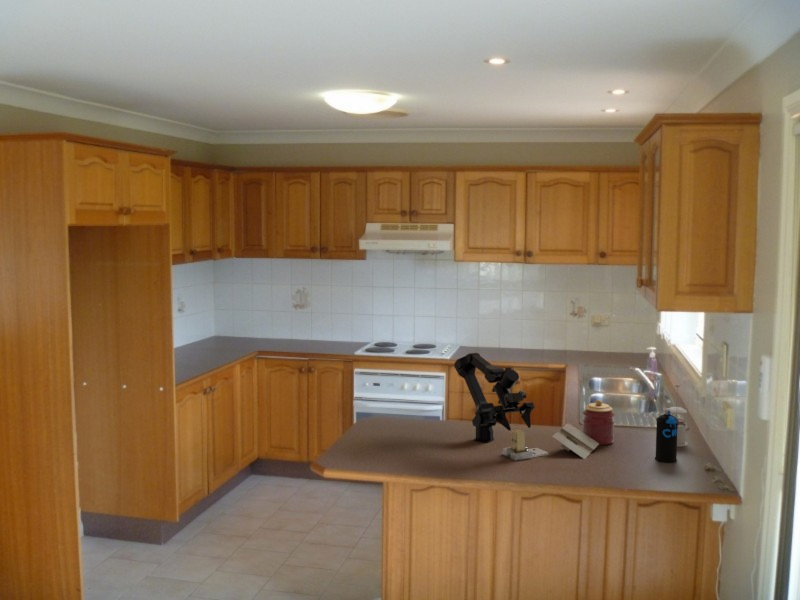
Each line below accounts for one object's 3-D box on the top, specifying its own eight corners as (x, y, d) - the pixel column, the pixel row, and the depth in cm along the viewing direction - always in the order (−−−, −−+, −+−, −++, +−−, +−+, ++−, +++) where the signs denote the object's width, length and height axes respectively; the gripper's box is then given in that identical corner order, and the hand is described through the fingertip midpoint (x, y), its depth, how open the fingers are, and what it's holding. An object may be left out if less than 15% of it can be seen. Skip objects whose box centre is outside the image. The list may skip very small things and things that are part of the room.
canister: (618, 440, 332) (619, 399, 330) (606, 447, 322) (607, 404, 320) (589, 435, 340) (590, 394, 338) (576, 441, 329) (577, 400, 327)
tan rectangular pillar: (510, 455, 311) (510, 430, 309) (518, 454, 312) (518, 429, 311) (516, 458, 306) (517, 433, 305) (524, 457, 308) (525, 432, 307)
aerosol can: (650, 457, 307) (651, 407, 305) (667, 455, 310) (669, 405, 308) (664, 463, 300) (666, 412, 298) (681, 461, 302) (683, 410, 300)
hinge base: (513, 460, 303) (513, 452, 303) (501, 454, 311) (501, 446, 311) (549, 455, 310) (549, 447, 310) (536, 449, 318) (536, 441, 318)
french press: (670, 447, 322) (672, 386, 319) (656, 439, 333) (658, 381, 331) (692, 445, 324) (695, 385, 321) (677, 438, 335) (679, 380, 332)
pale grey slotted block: (587, 455, 323) (560, 428, 328) (600, 443, 319) (573, 416, 323) (571, 472, 311) (544, 444, 315) (584, 459, 306) (556, 431, 310)
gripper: (492, 386, 306) (508, 420, 297) (532, 381, 314) (548, 415, 305) (481, 401, 314) (496, 435, 305) (521, 397, 322) (536, 430, 313)
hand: (520, 428), depth 307 cm, fingers open, 9 cm apart
